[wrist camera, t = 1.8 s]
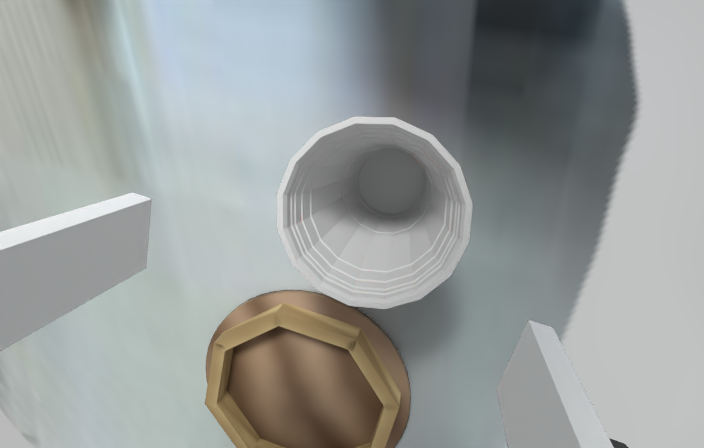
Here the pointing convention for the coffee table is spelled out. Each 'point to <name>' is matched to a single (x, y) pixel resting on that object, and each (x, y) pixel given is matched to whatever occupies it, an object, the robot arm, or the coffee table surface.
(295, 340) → the ring base
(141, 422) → the coffee table surface
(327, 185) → the plastic cup
